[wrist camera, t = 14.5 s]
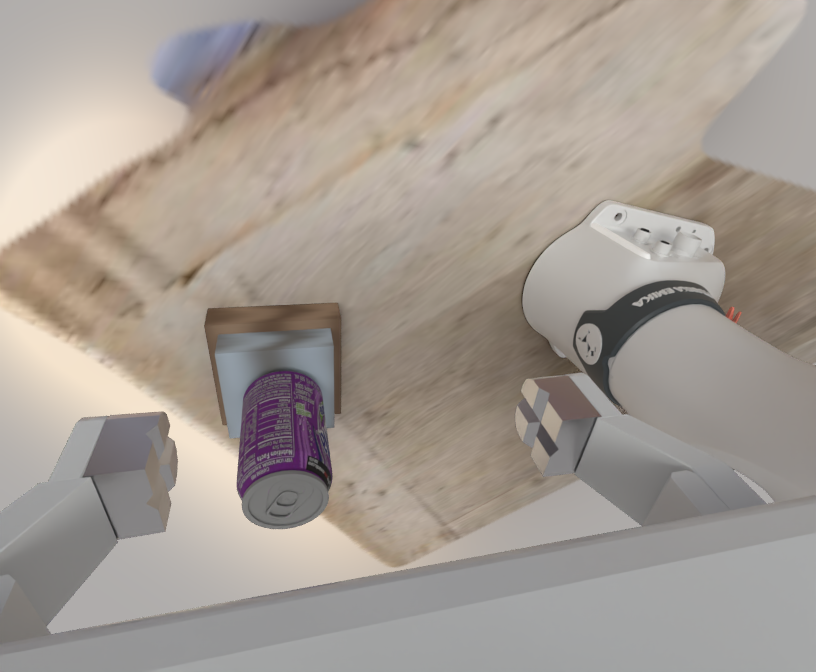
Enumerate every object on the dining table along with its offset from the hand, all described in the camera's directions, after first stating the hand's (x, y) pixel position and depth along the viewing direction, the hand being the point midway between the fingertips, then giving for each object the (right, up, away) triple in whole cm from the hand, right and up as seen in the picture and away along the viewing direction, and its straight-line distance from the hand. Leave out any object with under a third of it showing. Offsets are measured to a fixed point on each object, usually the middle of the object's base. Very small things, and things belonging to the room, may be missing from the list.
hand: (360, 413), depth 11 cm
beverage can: (-11, -4, +33) cm, 35 cm away
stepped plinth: (-12, 0, +38) cm, 40 cm away
